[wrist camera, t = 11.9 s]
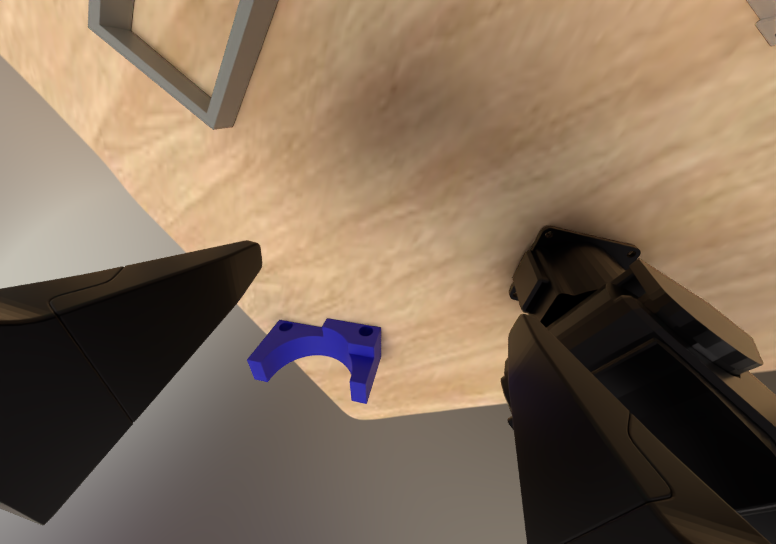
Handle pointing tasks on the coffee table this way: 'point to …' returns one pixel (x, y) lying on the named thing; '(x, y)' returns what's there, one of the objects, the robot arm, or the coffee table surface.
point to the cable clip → (322, 350)
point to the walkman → (766, 18)
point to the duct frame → (244, 44)
